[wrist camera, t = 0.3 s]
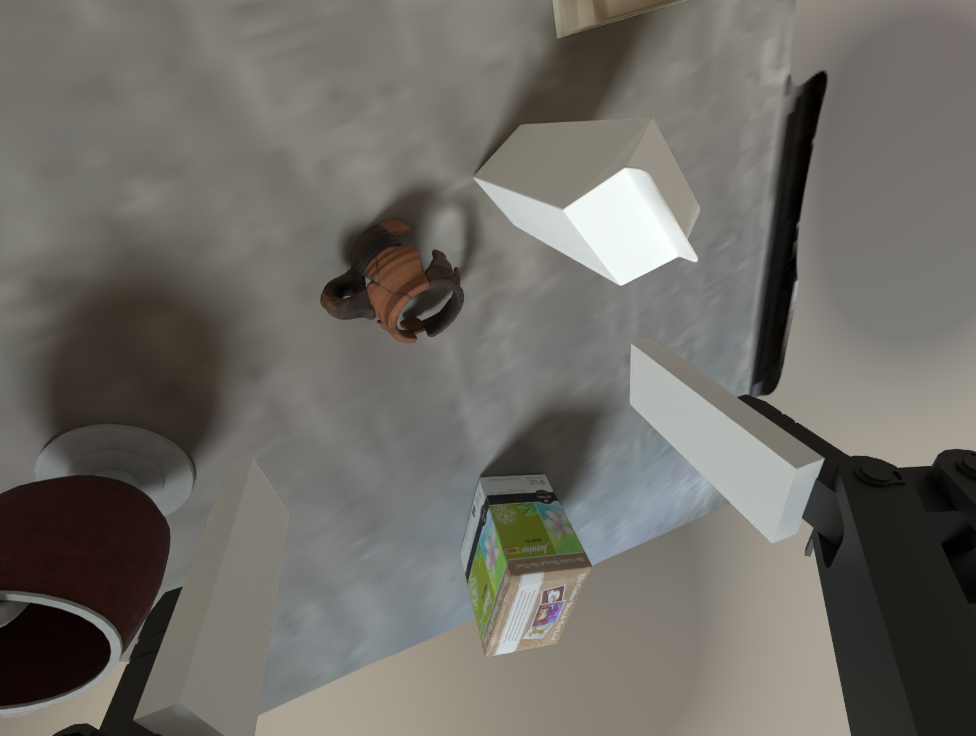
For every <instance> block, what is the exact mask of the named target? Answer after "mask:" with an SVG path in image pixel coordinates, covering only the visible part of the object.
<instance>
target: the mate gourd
mask: <svg viewBox="0 0 976 736" xmlns="http://www.w3.org/2000/svg"><path fill="white" fill-rule="evenodd" d="M34 475H35V479H36V482H32V483H28V484H24V485H21V486H17V487H15V488H13V489H10V490H8V491H6V492H3V493H1V494H0V714H8V713H15V712H22V711H29V710H33V709H38V708H42V707H46V706H50V705H54V704H57V703H60V702H63V701H65V700H69V699H71V698H74V697H76V696H78V695H80V694H82V693H84V692H87V691H89V690H90V689H92V688H93V687H95V686H96V685H98V684H99V683H101V682H102V681H103V680H105V679H106V678H107V677H108V676H109V675H110V674H111V673H112V672H113V670H114V669H115V667H116V666H117V664H118V662H119V661H120V658H121V656H122V655H123V653H124V652H125V651H126V649H127V648H128V646H129V645H130V643H131V641H132V640H133V638H134V637H135V635H136V633H137V632H138V630H139V628H140V627H141V625H142V623H143V622H144V620H145V618H146V617H147V615H148V614H149V612H150V610H151V607H152V605H153V603H154V600H155V598H156V596H157V593H158V591H159V589H160V586H161V584H162V580H163V576H164V572H165V568H166V564H167V559H168V555H169V549H170V528H169V526H168V523H167V521H166V519H165V517H164V516H166V515H168V514H170V513H172V512H173V511H175V510H176V509H178V508H179V507H180V506H181V505H182V504H183V503H184V502H185V501H186V500H187V498H188V496H189V495H190V493H191V491H192V489H193V485H194V482H195V471H194V468H193V465H192V462H191V461H190V459H189V458H188V456H187V455H186V453H185V452H184V451H183V450H182V449H181V448H180V447H179V446H178V445H176V444H175V443H173V442H172V441H170V440H169V439H167V438H166V437H163V436H161V435H159V434H157V433H155V432H152V431H149V430H146V429H143V428H139V427H134V426H129V425H123V424H98V425H89V426H85V427H80V428H76V429H73V430H71V431H69V432H66V433H64V434H62V435H60V436H59V437H57V438H56V439H54V440H53V441H51V443H50V444H49V445H48V446H47V447H46V448H45V449H44V450H43V451H42V452H41V453H40V455H39V457H38V459H37V461H36V463H35V472H34Z"/></svg>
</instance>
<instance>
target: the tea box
mask: <svg viewBox="0 0 976 736" xmlns="http://www.w3.org/2000/svg"><path fill="white" fill-rule="evenodd" d="M461 557H462V562H463V566H464V571H465V575H466V579H467V584H468V588H469V592H470V596H471V600H472V605H473V610H474V614H475V617H476V621H477V626H478V631H479V635H480V639H481V643H482V647H483V650H484V654H485V656H486V657H488V656H493V655H498V654H504V653H510V652H514V651H519V650H525V649H530V648H535V647H541V646H546V645H551V644H556V643H557V642H558V640H559V638H560V636H561V633H562V631H563V629H564V627H565V625H566V623H567V620H568V618H569V616H570V614H571V612H572V609H573V607H574V605H575V603H576V600H577V598H578V596H579V594H580V592H581V590H582V588H583V586H584V584H585V581H586V579H587V577H588V575H589V573H590V571H591V568H592V565H591V563H590V561H589V559H588V557H587V555H586V553H585V551H584V549H583V547H582V545H581V543H580V541H579V539H578V537H577V535H576V534H575V532H574V530H573V528H572V526H571V524H570V522H569V520H568V518H567V516H566V514H565V512H564V510H563V508H562V507H561V505H560V503H559V501H558V499H557V497H556V495H555V494H554V491H553V489H552V487H551V485H550V483H549V482H548V480H547V478H546V476H545V474H543V475H512V476H492V477H480V479H479V483H478V487H477V490H476V494H475V498H474V502H473V506H472V510H471V514H470V518H469V522H468V525H467V530H466V535H465V538H464V542H463V547H462V551H461Z"/></svg>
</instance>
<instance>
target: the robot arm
mask: <svg viewBox="0 0 976 736" xmlns="http://www.w3.org/2000/svg"><path fill="white" fill-rule="evenodd" d="M630 404H631V405H632V406H633V407H634V408H635V409H636V410H637V411H638V412H639V413H640V414H641V415H642V416H643V417H644V418H645V419H646V420H647V421H648V422H649V423H650V424H651V425H652V426H653V427H654V428H655V429H656V430H657V431H658V432H659V433H660V434H661V435H662V436H663V437H664V438H665V439H666V440H667V441H668V442H669V443H670V444H671V445H672V446H673V447H674V448H675V449H676V450H677V451H678V452H679V453H680V454H681V455H683V456H684V457H685V458H686V459H687V460H688V461H689V462H690V463H691V464H692V465H693V466H694V467H695V468H696V469H697V470H698V471H699V472H700V473H701V474H702V475H703V476H704V477H705V478H706V479H707V480H708V481H709V482H710V483H711V484H712V485H713V486H714V487H715V488H716V489H717V490H718V491H719V492H720V493H721V494H722V495H723V496H724V497H725V498H726V499H727V500H728V501H729V502H730V503H731V504H732V505H733V506H734V507H735V508H737V509H738V510H739V511H740V512H741V513H742V514H743V515H744V516H745V517H746V518H747V519H748V520H749V521H750V522H751V523H752V524H753V525H754V526H755V527H756V528H757V529H758V530H759V531H760V532H761V533H762V534H763V535H764V536H765V537H766V538H767V539H768V540H769V541H770V542H771V543H772V544H773V543H775V542H777V541H780V540H782V539H785V538H787V537H790V536H792V535H795V534H797V532H798V529H799V527H800V524H801V521H802V518H803V519H804V520H805V521H806V522H807V523H809V524H810V525H811V526H812V527H813V531H812V534H811V536H810V538H809V541H808V543H807V546H806V548H805V556H810V555H811V553H812V551H813V548H814V551H815V556H816V561H817V566H818V571H819V576H820V581H821V586H822V591H823V596H824V601H825V606H826V611H827V616H828V621H829V626H830V631H831V636H832V641H833V647H834V652H835V656H836V662H837V667H838V672H839V677H840V682H841V687H842V692H843V696H844V702H845V707H846V712H847V717H848V722H849V726H850V732H851V736H976V452H975V451H971V450H961V449H953V450H945V451H943V452H941V453H940V454H938V456H937V458H936V459H935V461H934V463H933V465H932V466H921V467H905V468H897V467H896V466H894V465H892V464H890V463H887V462H885V461H883V460H881V459H877V458H873V457H868V456H851V457H850V456H848V455H847V454H845V453H843V452H842V451H840V450H839V449H837V448H836V447H834V446H833V445H831V444H830V443H828V442H827V441H825V440H824V439H822V438H820V437H819V436H817V435H816V434H814V433H813V432H811V431H810V430H808V429H807V428H805V427H804V426H802V425H801V424H799V423H795V421H794V420H793V419H791V418H790V417H788V416H787V415H785V414H782V413H781V411H779V410H778V409H776V408H775V407H773V406H771V405H770V404H768V403H767V402H765V401H763V400H760V399H757V398H754V397H752V396H749V395H746V394H745V395H742V396H739V397H735V396H734V395H732V394H731V393H730V392H728V391H727V390H725V389H724V388H722V387H721V386H719V385H718V384H717V383H715V382H714V381H712V380H711V379H709V378H708V377H706V376H705V375H704V374H702V373H701V372H699V371H698V370H696V369H695V368H693V367H692V366H691V365H689V364H688V363H686V362H685V361H683V360H682V359H680V358H679V357H678V356H676V355H675V354H673V353H672V352H670V351H669V350H667V349H666V348H665V347H663V346H662V345H660V344H659V343H657V342H656V341H654V340H653V339H652V338H647V339H644V340H640V341H637V342H634V343H631V375H630ZM289 521H290V513H289V512H288V510H287V509H286V507H285V506H284V504H283V503H282V501H281V499H280V498H279V496H278V495H277V493H276V492H275V490H274V489H273V487H272V485H271V484H270V482H269V481H268V479H267V478H266V476H265V475H264V473H263V471H262V470H261V468H260V467H259V465H258V464H257V462H256V460H255V459H254V458H251V459H248V460H244V461H241V462H238V463H235V464H231V465H228V467H227V470H226V472H225V475H224V478H223V481H222V483H221V486H220V489H219V491H218V494H217V497H216V499H215V502H214V505H213V507H212V510H211V513H210V515H209V518H208V521H207V523H206V526H205V529H204V531H203V534H202V537H201V539H200V542H199V545H198V547H197V550H196V553H195V555H194V558H193V561H192V563H191V566H190V569H189V571H188V574H187V577H186V579H185V582H184V585H183V587H180V588H177V589H174V590H171V591H168V592H165V593H164V595H163V596H162V597H161V599H160V600H159V601H158V603H157V604H156V605H155V607H154V608H153V609H152V611H151V612H150V613H149V615H148V616H147V618H146V621H145V623H144V625H143V628H142V630H141V632H140V635H139V637H138V639H137V640H138V644H135V646H134V649H133V651H132V654H131V656H130V658H129V660H130V663H129V664H127V666H126V668H125V670H124V672H123V675H122V677H121V679H120V682H119V685H118V687H117V689H116V691H115V694H114V696H113V698H112V701H111V703H110V705H109V708H108V710H107V712H106V715H105V717H104V720H103V722H102V724H101V727H100V729H99V730H98V729H96V728H94V727H93V726H91V725H89V724H74V725H72V726H69V727H67V728H65V729H63V730H61V731H59V732H57V733H56V734H54V735H53V736H254V735H255V729H256V723H257V717H258V711H259V704H260V698H261V692H262V686H263V680H264V674H265V668H266V662H267V655H268V649H269V643H270V637H271V631H272V625H273V619H274V612H275V606H276V600H277V594H278V588H279V582H280V576H281V570H282V563H283V557H284V551H285V545H286V539H287V533H288V527H289Z"/></svg>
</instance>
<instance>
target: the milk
mask: <svg viewBox="0 0 976 736" xmlns="http://www.w3.org/2000/svg"><path fill="white" fill-rule="evenodd" d="M473 178H474V179H475V180H476V182H477V183H478V184H479V185H480V186H481V187H482V188H483V190H484V191H485V192H486V193H487V194H488V195H489V197H490V198H491V199H492V200H493V201H494V202H495V204H496V205H497V206H498V207H499V208H500V209H501V210H502V212H503V213H504V214H505V215H506V216H507V217H508V219H509V220H510V221H511V222H512V223H513V224H514V225H515V226H516V227H518V228H520V229H522V230H523V231H525V232H527V233H529V234H530V235H532V236H534V237H536V238H537V239H539V240H541V241H543V242H544V243H546V244H548V245H550V246H551V247H553V248H555V249H557V250H558V251H560V252H562V253H564V254H565V255H567V256H569V257H571V258H572V259H574V260H576V261H578V262H580V263H581V264H583V265H585V266H587V267H588V268H590V269H592V270H594V271H595V272H597V273H599V274H601V275H602V276H604V277H606V278H608V279H609V280H611V281H613V282H615V283H616V284H618V285H624V284H626V283H628V282H630V281H632V280H634V279H636V278H637V277H639V276H641V275H643V274H645V273H647V272H649V271H651V270H653V269H655V268H657V267H659V266H661V265H663V264H665V263H667V262H669V261H671V260H673V259H675V258H677V257H682V258H685V259H688V260H690V261H693V262H697V261H698V257H697V255H696V254H695V252H694V250H693V248H692V247H691V245H690V243H689V242H688V240H687V239H688V237H689V235H690V233H691V230H692V228H693V226H694V223H695V221H696V219H697V217H698V214H699V212H700V206H699V204H698V202H697V201H696V199H695V197H694V195H693V193H692V191H691V189H690V187H689V185H688V183H687V181H686V180H685V178H684V176H683V174H682V172H681V170H680V168H679V166H678V164H677V162H676V160H675V159H674V157H673V155H672V153H671V151H670V149H669V147H668V145H667V143H666V141H665V139H664V138H663V136H662V134H661V132H660V130H659V128H658V126H657V124H656V122H655V120H654V119H653V118H635V119H616V120H597V121H577V122H558V123H539V124H521V125H520V126H519V127H518V128H517V129H516V130H515V131H514V132H513V133H512V134H511V135H510V137H509V138H508V139H507V140H506V141H505V142H504V143H503V144H502V145H501V146H500V148H499V149H498V150H497V151H496V152H495V153H494V154H493V155H492V156H491V157H490V159H489V160H488V161H487V162H486V163H485V164H484V165H483V166H482V167H481V169H480V170H479V171H478V172H477V173H476V174H475V175H474V176H473Z"/></svg>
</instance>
